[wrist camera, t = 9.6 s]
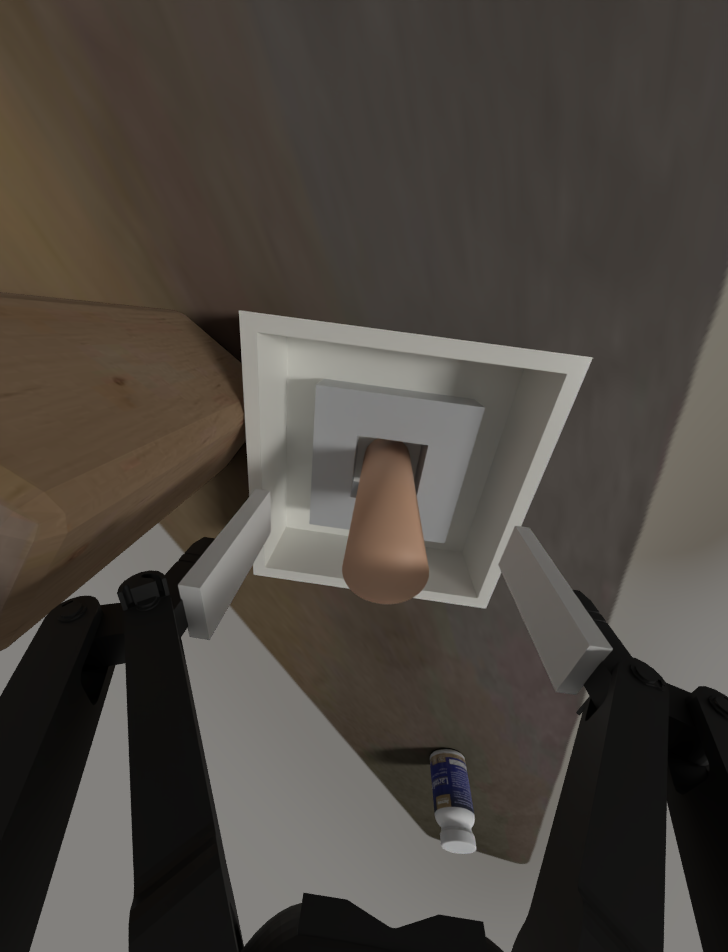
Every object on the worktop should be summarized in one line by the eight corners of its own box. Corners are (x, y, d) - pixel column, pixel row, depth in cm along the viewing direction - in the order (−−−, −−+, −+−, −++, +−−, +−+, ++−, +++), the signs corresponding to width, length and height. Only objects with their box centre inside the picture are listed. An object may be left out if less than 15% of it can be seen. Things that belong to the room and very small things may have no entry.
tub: (279, 316, 23) (238, 310, 17) (536, 350, 23) (592, 357, 17) (280, 526, 32) (253, 574, 26) (466, 553, 32) (485, 608, 25)
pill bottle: (437, 743, 49) (448, 837, 40) (470, 752, 49) (488, 846, 40) (423, 759, 51) (431, 850, 42) (454, 767, 51) (468, 859, 42)
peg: (367, 433, 26) (346, 531, 13) (413, 440, 26) (438, 544, 13) (361, 475, 27) (338, 597, 15) (405, 481, 27) (419, 609, 15)
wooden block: (283, 393, 26) (42, 533, 8) (225, 469, 30) (-29, 683, 12) (180, 304, 23) (-504, 215, 5) (131, 399, 27) (-376, 532, 9)
